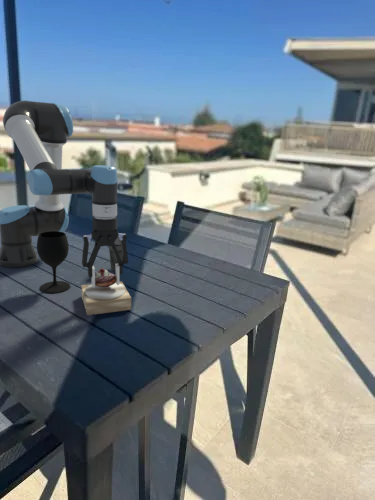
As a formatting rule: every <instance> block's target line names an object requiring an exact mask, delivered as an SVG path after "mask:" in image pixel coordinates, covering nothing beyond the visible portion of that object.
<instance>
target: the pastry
mask: <svg viewBox="0 0 375 500" xmlns="http://www.w3.org/2000/svg"><path fill="white" fill-rule="evenodd" d="M115 282H116V274H114V273H111V272H109V271H108V270H107V269H104V268H103V267H101V268H100V269H99V270H98V271H97V272H96V273H95V286H99V287H109V286H111V285H113V284H115Z"/></svg>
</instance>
